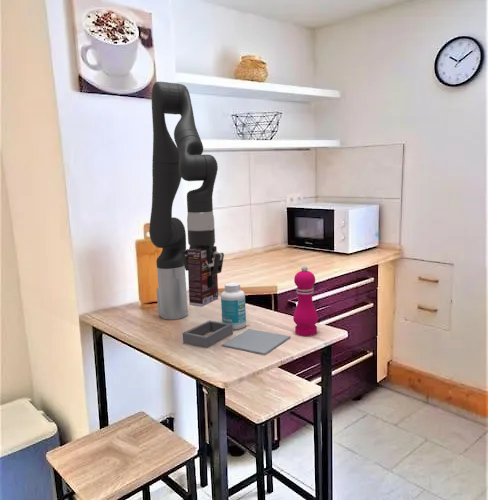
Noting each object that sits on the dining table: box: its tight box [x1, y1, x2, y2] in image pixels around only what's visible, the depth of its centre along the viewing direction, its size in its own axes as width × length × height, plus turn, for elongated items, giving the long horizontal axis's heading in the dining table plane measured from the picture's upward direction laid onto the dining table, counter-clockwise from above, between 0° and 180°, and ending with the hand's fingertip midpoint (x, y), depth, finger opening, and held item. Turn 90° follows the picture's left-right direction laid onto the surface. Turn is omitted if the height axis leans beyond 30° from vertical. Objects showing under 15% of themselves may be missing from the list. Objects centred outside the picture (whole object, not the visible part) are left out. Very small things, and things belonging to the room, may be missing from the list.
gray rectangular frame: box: [182, 320, 234, 349], centre depth 136 cm, size 8×12×3 cm
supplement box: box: [186, 245, 219, 308], centre depth 133 cm, size 9×5×16 cm, turn 151°
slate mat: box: [221, 328, 291, 356], centre depth 131 cm, size 14×14×1 cm
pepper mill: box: [292, 265, 319, 337], centre depth 135 cm, size 7×7×20 cm
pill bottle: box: [220, 282, 247, 330], centre depth 144 cm, size 8×7×14 cm
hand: (203, 286), depth 133 cm, fingers closed on supplement box, 5 cm apart
